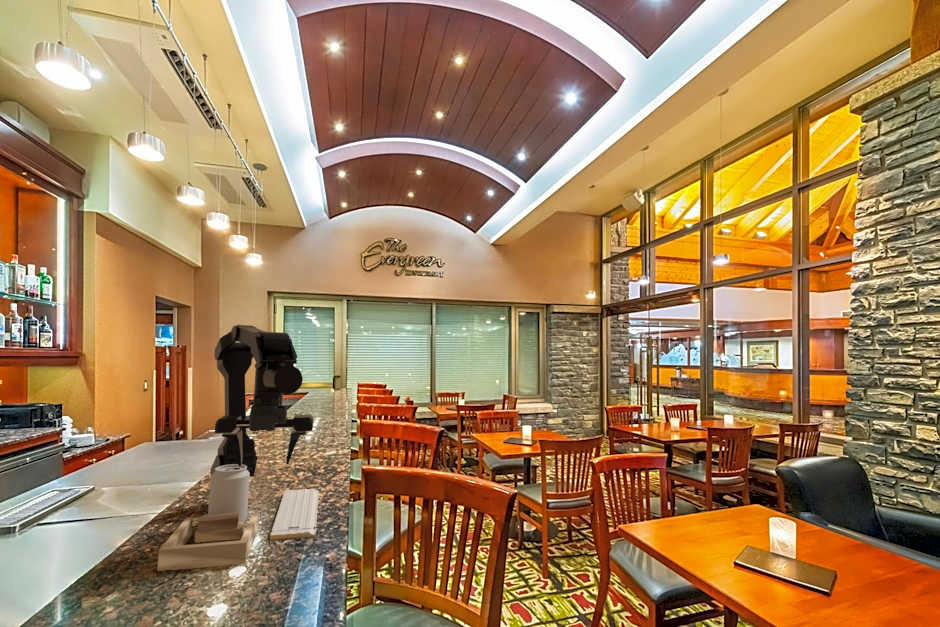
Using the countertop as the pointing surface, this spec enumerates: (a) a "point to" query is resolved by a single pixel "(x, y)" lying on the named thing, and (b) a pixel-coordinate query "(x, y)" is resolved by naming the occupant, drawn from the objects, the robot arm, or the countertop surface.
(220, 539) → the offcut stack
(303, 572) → the countertop surface
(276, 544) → the countertop surface
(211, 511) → the can
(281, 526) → the baseboard
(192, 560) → the rack
